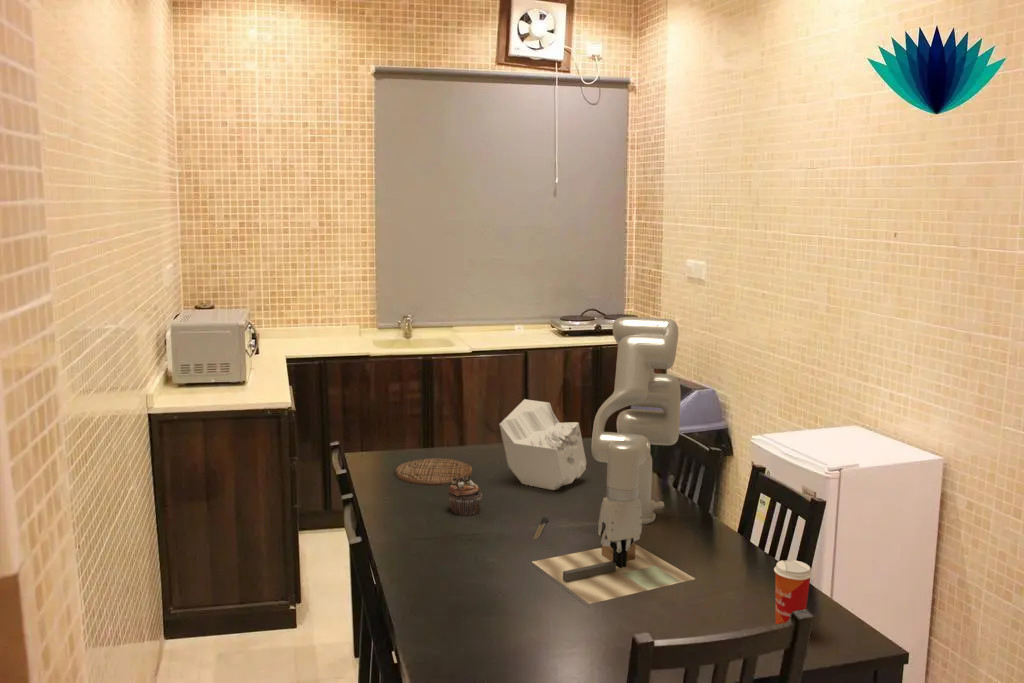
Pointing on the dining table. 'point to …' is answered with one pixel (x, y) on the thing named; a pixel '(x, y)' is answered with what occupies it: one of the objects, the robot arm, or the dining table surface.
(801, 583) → the paper cup
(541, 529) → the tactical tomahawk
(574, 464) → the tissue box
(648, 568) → the board
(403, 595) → the dining table surface
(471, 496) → the cupcake
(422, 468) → the trivet
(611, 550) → the walnut block
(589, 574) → the dark gray bar
